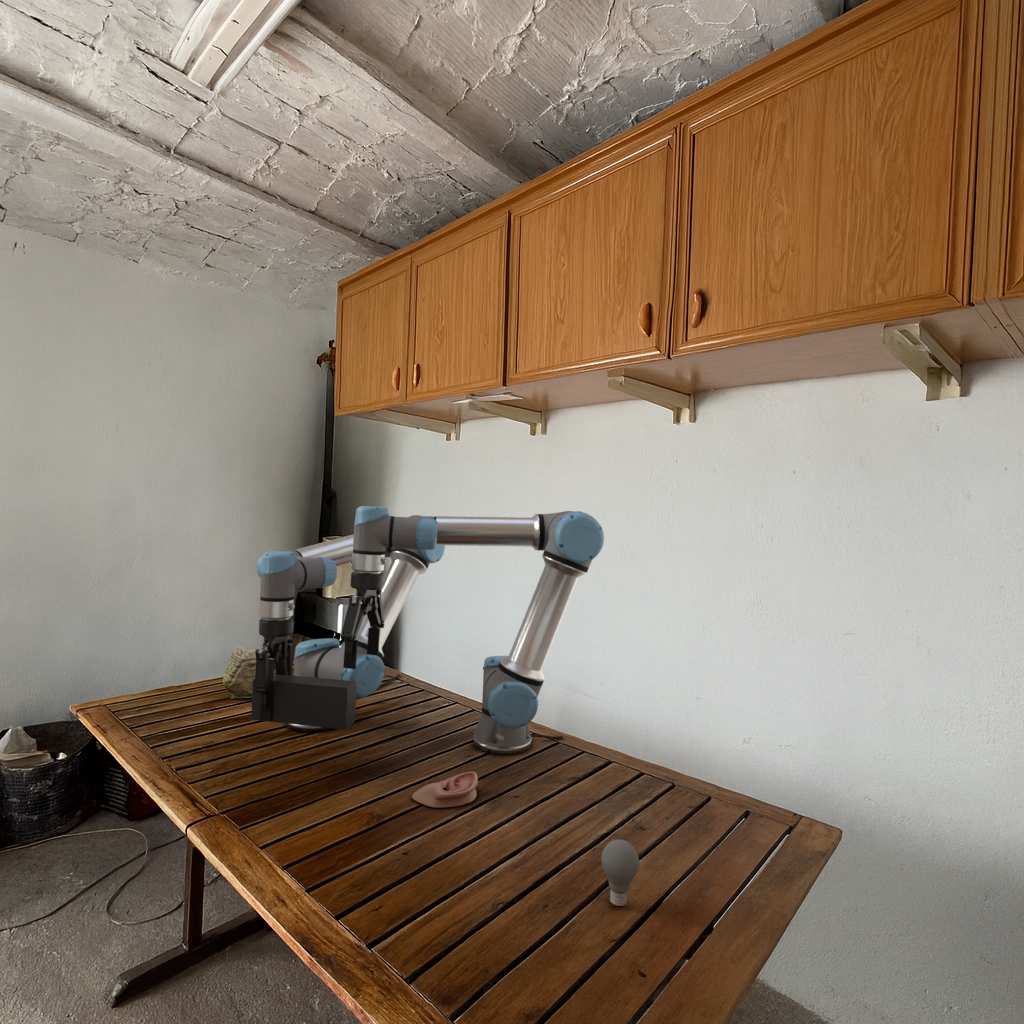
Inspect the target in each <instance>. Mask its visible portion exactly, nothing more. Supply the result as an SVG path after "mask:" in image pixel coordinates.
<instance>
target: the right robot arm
mask: <svg viewBox="0 0 1024 1024" xmlns="http://www.w3.org/2000/svg"><path fill="white" fill-rule="evenodd" d="M354 518H355V519H354V524H353V534H354V539H353V553H352V562H351V566H350V567H351V568H350V569H351V570H352V572H351V574H350V587H351V588H352V589H353V590H354V589H355V590H356V592H355V594H350V595H349V597H348V598H349V599H348V606H347V610H346V613H345V617H344V622H343V625H342V629H341V633H340V639H341V640H345V650H344V664H343V668H348V669H356V660H357V645H358V640H356V637H357V635H358V632H359V629H360V626H361V623H362V620H363V618H364V616H365V615H366V614H367V616H368V620H369V623H370V626H371V627H372V628H369V630H368V644H367V654H369V655H378V653H379V638H380V629H379V628H384V615H383V607H382V599H381V593H382V590H381V589H382V588H383V579H384V576H385V574H384V573H383V572H384V570H385V564H386V563H387V558H386V557H385V549H386V547H389V548H404V549H417V550H421V551H422V550H434V549H435V548H436V545H445V546H459V547H461V546H464V547H526V548H527V547H528V548H529V547H531V548H532V549H533V550H534V551H543V553H542V559H543V561H544V567H543V570H542V572H541V575H540V577H539V580H538V582H537V584H536V586H535V590H534V592H533V594H532V597H531V599H530V602H529V605H528V607H527V609H526V612H525V615H524V617H523V619H522V622H521V625H520V627H519V629H518V632H517V634H516V637H515V639H514V641H513V644H512V647H511V649H510V651H509V654H508V655H491V656H487V657H486V658H484V661H483V667H482V670H483V673H482V674H483V676H482V699H481V701H482V702H481V715H480V717H479V720H478V722H477V725H476V728H475V731H474V733H473V745H474V747H475V748H476V749H478V750H479V751H482V752H485V753H488V754H492V755H503V756H505V755H516V754H521V753H525V752H527V751H529V749H530V748H531V747H532V738H540V739H548V740H549V739H550V740H561V739H563V738H564V736H563V735H556V736H555V735H554V736H553V735H545V734H538V733H537V734H535V733H531V730H530V727H529V723H531V721H533V719H534V718H535V716H536V714H537V713H538V707H539V698H538V697H539V694H540V692H541V689H542V687H543V685H544V682H545V676H544V673H543V670H542V669H543V668H544V665H545V662H546V660H547V657H548V654H549V652H550V649H551V647H552V645H553V642H554V640H555V637H556V634H557V633H558V629H559V627H560V624H561V622H562V619H563V617H564V615H565V611H566V610H567V607H568V605H569V602H570V599H571V597H572V595H573V592H574V589H575V587H576V585H577V582H578V579H579V578H582V577H583V576H585V575H587V574H588V571H589V568H590V567H591V565H592V561H593V560H594V559H595V558H596V557H598V555H599V554H600V553H601V551H602V549H603V547H604V543H605V533H604V529H603V527H602V525H601V523H600V522H599V521H598V520H597V519H596V518H595V517H594V516H592V515H591V514H589V513H587V512H583V511H580V510H579V511H578V510H576V511H575V510H574V511H573V510H565V511H559V512H552V513H535V514H534V515H533V516H531V517H516V516H515V517H514V516H513V517H512V516H511V517H509V516H508V517H507V516H503V517H502V516H448V515H447V516H442V515H441V516H440V515H439V516H438V515H437V516H431V515H410V516H393V515H390V513H389V509H388V508H387V507H385V506H373V505H372V506H371V505H360V506H358V507H357V508H356V510H355V517H354Z"/></svg>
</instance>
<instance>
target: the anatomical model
mask: <svg viewBox="0 0 1024 1024" xmlns="http://www.w3.org/2000/svg"><path fill="white" fill-rule="evenodd" d="M478 777H479V776H478V775H477V772H475V771H466V772H463V773H462V772H461V773H459V774H456V775H454V776H451V777H448V778H445V779H444V780H441V781H438V782H433V783H429V784H426V785H424V786H421V788H419V789H417V790H416V791H414V792H413V794H412V795H411V799H412V800H414V801H415V802H417V803H419V804H421V805H423V806H427V807H428V808H429V807H430V808H435V809H439V808H452V807H459V806H464V805H466V804H469V803H471V802H473V801H474V800H475V799H476V798H477V795H478V794H477V789H476V787H477V786H478V783H479V782H478V781H479V778H478Z"/></svg>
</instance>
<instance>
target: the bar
mask: <svg viewBox="0 0 1024 1024" xmlns="http://www.w3.org/2000/svg"><path fill="white" fill-rule="evenodd" d="M356 683H357V682H356V681H346V680H335V679H324V678H313V677H302V676H294V675H292V676H291V675H280V674H274V677H273V683H272V689H271V692H273V715H272V721H267V722H269V723H279V724H286V723H287V724H297V725H307V726H316V727H326V728H333V729H337V730H348V728H350V727H351V726H352V725H353V724H354V723H355V722H356V709H357V708H356V706H357V698H356ZM260 699H261V694H260V693H259V692H255V678H254V679H253V689H252V698H251V719H250V720H251V721H260V722H266V721H265V720H260Z"/></svg>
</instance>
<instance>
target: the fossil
mask: <svg viewBox="0 0 1024 1024" xmlns="http://www.w3.org/2000/svg"><path fill="white" fill-rule="evenodd" d="M261 648H262V647H261ZM261 648H260V647H258V648H251V647H247V646H246V647H245V646H238V647H237V648H236V649H235V650H233V651H232V653H231V656H230V657H229V659H228V660H227V663H226V666H225V668H224V671H223V675H222V676H223V677H222V685H223V687H224V688H225V690H226V691H228V693H229V698H230V699H250V698H251V699H252V689H253V679H254V678H255V673H256V655H255V651H256V649H261ZM269 659H272V658H269ZM274 674H276V671H274Z"/></svg>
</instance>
